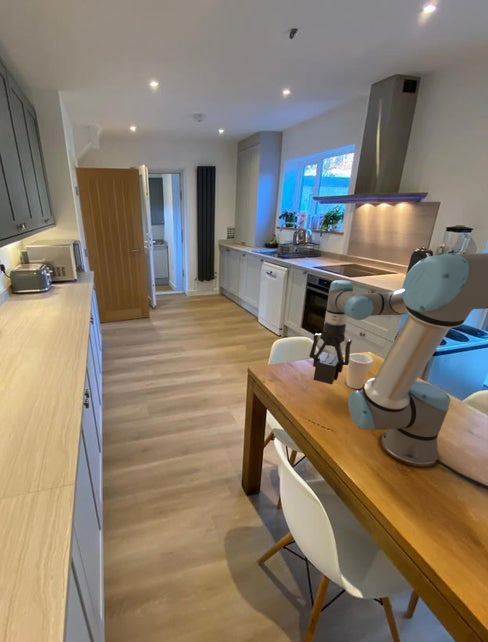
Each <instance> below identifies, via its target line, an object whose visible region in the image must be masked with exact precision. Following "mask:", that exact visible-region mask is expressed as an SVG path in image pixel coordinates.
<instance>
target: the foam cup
mask: <svg viewBox="0 0 488 642" xmlns="http://www.w3.org/2000/svg"><path fill="white" fill-rule="evenodd" d="M373 362H374V359H373V357H371V356H370V355H366V354H364V353H350V358H349V364H348V365H346V386H348V387H349V388H351V389H356V390H358V389H363V387H364V385H365V383H366V379H367V377H368V374H369V372H370V370H371V367H373Z"/></svg>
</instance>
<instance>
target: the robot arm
mask: <svg viewBox="0 0 488 642" xmlns="http://www.w3.org/2000/svg"><path fill="white" fill-rule="evenodd" d="M486 309H488V252H485V253H483V252H481V253H453V252H452V253H451V252H449V253H443V254H437V255H430V256H427V257H425V258H422V259H420V260H419V261H418V262H417V263H415V264H414V265H413V266H412V267H411V268H410V270H408V272H407V274H406V276H405V277H404V280H403V283H402V289H398V290H393V291H389V292H365V293H364V292H363V293H362V292H361V293H359V292H355V291H354V283H353V282H352V281H350V280H345V279H344V280H343V279H336V280H333V281H332V282H331V283H330V285H329V289H328V297H327V304H326V311H325V314H324V323H323V328H322V332H321V333H318V332H315V334H314V335H313V336H312V337H313V343H312V346H311V348H310V352H309V358H311V359H313V363H312V367H314V368H315V367H316V362H317V360H318V359H319V357H320V356H321V355H322V353H323V352H324V350H325V348H326V346H329V347H333V348H334V349H335V352H336V355H337V356H338V361H339V363H338V365H337V368H336V374H335V379H334V381H337V380H338V378H339V373H342V371H343V370H344V369H343V368H344V366H347V365H348V364H349V358H350V354H351V345H352V342H353V339H351V338H350V339H348V338H346V336H345V332H346V327H347V321H348V318H351V319H354V320H355V321H363V320H365V319H368V318H369V317H374V316H375V317H376V316H401V315H402V316H403V315H407V314H408V315H407V316H406V318H405V321H404V322H403V324H402V326H401V328H400V330H399V332H398V334H397V335H396V337H395V339H394V341H393V343H392V345H391V346H390V348H389V351H388V352H387V355H386V357H385V358H384V360H383V362H382V364H381V366H380V368H379V370H378V372H377V373H376V376H375V377H372V378H370V379H368V380H367V381H365V382H364V384H363V387H362V388H361V390H358V389H356V390H353V391H351V392H350V393H349V395H348V398H347V399H348V400H347V403H348V405H347V406H348V411H349V414H350V417H351V419H352V421H353V424H355V426H357V428H358V429H361V430H363V431H379V430H382V431H383V430H385V432H384V433H383V434H382V436H381V439H380V446H381V448H382V449H383V451H384V452H385V453H386V454H387V455H388V456H390V457H391V458H393V459H394V460H396V461H398V462H400V463H403V464H404V465H408V466H411V467H417V468H428V467H432V466H434V465H435V464H436V463H437V464H439V465H440V466H441V467H443V468H445V469H446V470H448V471H450V472H451V473H453V474H455V475H456V476H458V477H459V478H462V479H463V480H466V481H468V482H470V483H472V484H474V485H477V486H479V487H482V488H484V489H486V490H488V485H487V484H484V483H483V482H480V481H478V480H475V479H473V478H471V477H469V476H467V475H465V474H463V473H461V472H459V471H457V470H456V469H454V468H452V467H451V466H449V465H448V464H446V463H444V462H443V461H442V460H439V455H440V454H439V449H438V448H439V447H438V436H439V433H440V431H441V428H442V426H443V424H444V422H445V419H446V417H447V413H448V411H449V410H450V409H449V408H450V403H451V397H450V395H449V394H448V393H447V392H446V391H444V390H443V389H441V388H440V387H438V386H435V385H433V384H431V383H428V382H425V381H420V380H417V379H419V377H420V375H421V373H422V372H423V370H424V369H425V368H426V366H427V364H428V363H429V361H430V360H431V358H432V357H433V355H434V353H436V351H437V349H438V347H439V346H440V344H441V343H442V341H443V340H444V338H445V337H446V335H447V334H448V332H449V331H450V329H453V328H457V327H461V326H462V325H464V323H465V321H466V320H467V319H468V318H469V315H470V314H471V312H472V311H473V310H486ZM320 339H321V340H322V341H323V343H322V345H321V346H320V348H319V349H318V351H317V352H316V350H317V346H318V342H319V340H320ZM343 342H344V345H345V349H344V357H343V352H342V347H341V344H342V343H343ZM315 353H316V354H315Z"/></svg>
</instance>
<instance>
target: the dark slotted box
mask: <svg viewBox="0 0 488 642" xmlns="http://www.w3.org/2000/svg"><path fill="white" fill-rule="evenodd" d="M318 358H319V359H318V360H317V362H316V367H314V374H313V381H315V382H320V383H324V384H328V385H331V386H332V385H333V384H334V382H335V380H334V379H335V374H336V368H337V365H338V363H339V361H338V356H337V354H335V353H332V352H331V353H330V352H325V351H322V352H321V354H320V355H319V357H318Z"/></svg>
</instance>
